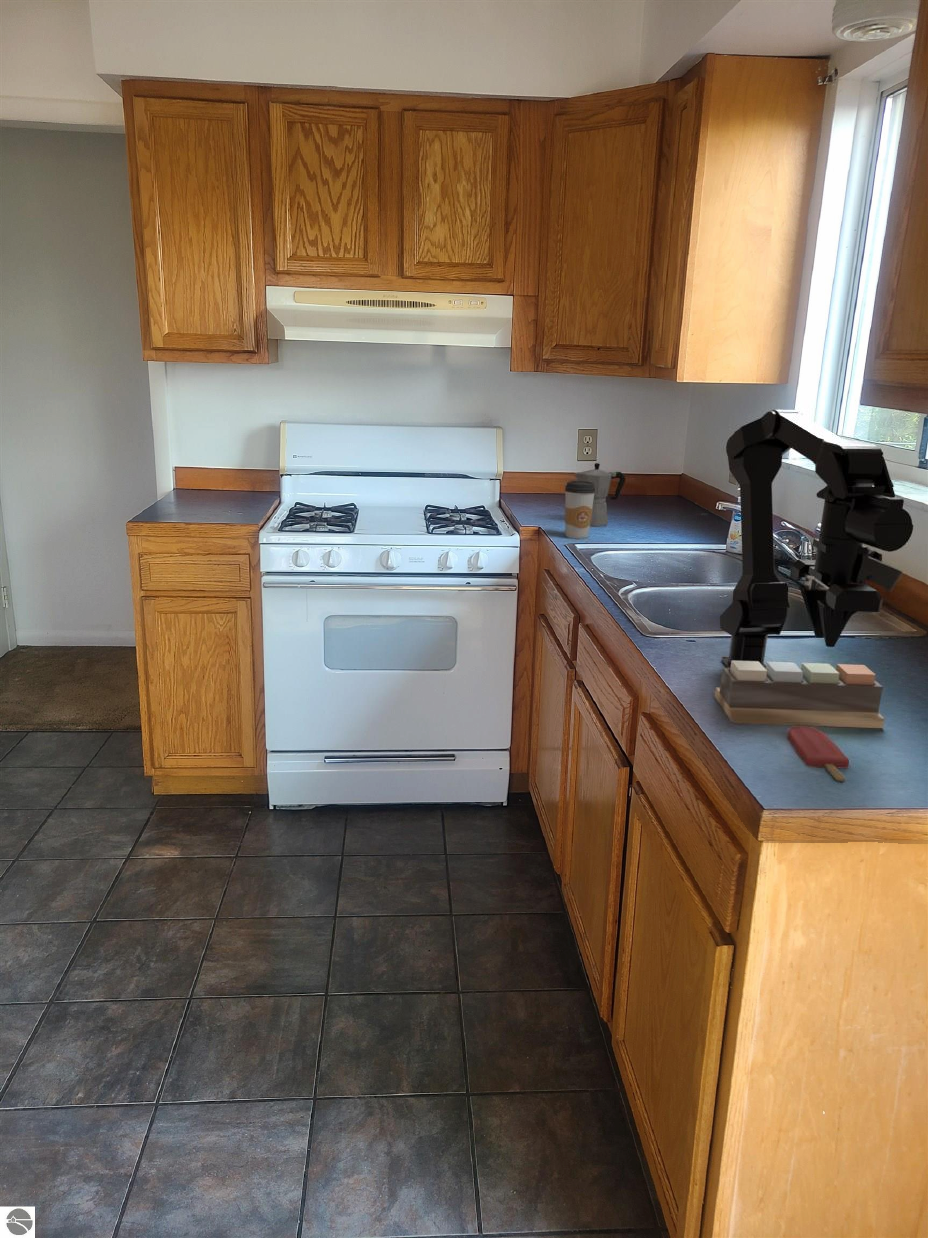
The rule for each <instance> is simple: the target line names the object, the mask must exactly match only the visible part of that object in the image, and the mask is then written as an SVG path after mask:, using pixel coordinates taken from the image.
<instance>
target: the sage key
mask: <svg viewBox="0 0 928 1238" xmlns="http://www.w3.org/2000/svg"><path fill="white" fill-rule="evenodd" d="M800 669H801V670H802V671H803V678H804V679H805V680H806V681H807V682H808V683H828V684H838V679H839V672H837V671H836V668H834V667H833V666H832V665H831V664H830V663H821V662H820V663H816V662H815V663H814V662H811V663H810V662H801V667H800Z"/></svg>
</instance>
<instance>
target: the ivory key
mask: <svg viewBox="0 0 928 1238" xmlns="http://www.w3.org/2000/svg"><path fill="white" fill-rule="evenodd" d="M730 673H731V674H732V675H733V677H734V678H735V679H736V680H742V681H766V674H767V670H766V669H765V668H764V667H763V666H762V665H761V664H760V662H759V661H734V660H731V668H730Z"/></svg>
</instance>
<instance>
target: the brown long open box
mask: <svg viewBox="0 0 928 1238" xmlns="http://www.w3.org/2000/svg"><path fill="white" fill-rule="evenodd" d="M883 687H884V686H883V685H881V684H880V683H879V682H878V681H877V680H875V681H874V685H857V684H844V683H843V682H842V681H841V680H840V679H838V684H828V683H808V682H807V681H806V680H805V679H804V678H803V677H802V683H800V682H772V680H771V679H770V678H769V677H768V676H767V675H766V681H742V680H736V679H735V678H734V677H733V675H732V674H731V673H730V668H728V667H722V671H721V678H720V685H719V687H715V691H714V698H715V699H716V701H717V703H718V704H719V705H720V706H721V708H722V710H723V711H724V712H725V714H726V715H727V717H728V718H729V720H730V721H731V723H732V724H747V725H748V724H750V725H751V724H753V725H775V726H777V725H781V726H783V725H784V726H807V727H835V728H836V727H839V728H867V729H868V728H869V729H870V728H871V729H883V728H884V723H885V717H884V716H883V715H881V714H880V713H879V711H880V710H879V709H880V705H881V699H882V694H883Z"/></svg>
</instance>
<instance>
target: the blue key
mask: <svg viewBox="0 0 928 1238" xmlns="http://www.w3.org/2000/svg"><path fill="white" fill-rule="evenodd" d="M765 665H766V670H767V674H766V675H767V676H768V677H769V678H770V679H771V680H772V682H800V683H802V677H803V671H802V670H801V667H799V666H798V665H797V664H796V663H795V662H789V661H787V662H785V661H766V664H765Z"/></svg>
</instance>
